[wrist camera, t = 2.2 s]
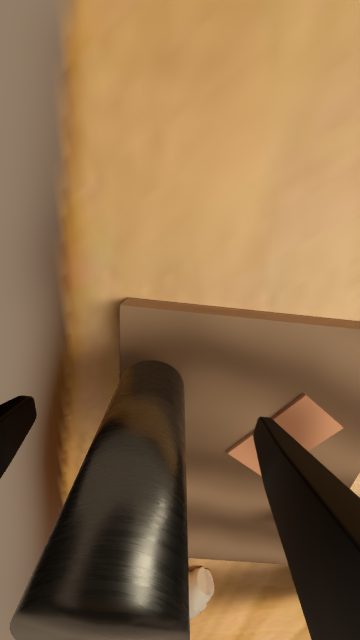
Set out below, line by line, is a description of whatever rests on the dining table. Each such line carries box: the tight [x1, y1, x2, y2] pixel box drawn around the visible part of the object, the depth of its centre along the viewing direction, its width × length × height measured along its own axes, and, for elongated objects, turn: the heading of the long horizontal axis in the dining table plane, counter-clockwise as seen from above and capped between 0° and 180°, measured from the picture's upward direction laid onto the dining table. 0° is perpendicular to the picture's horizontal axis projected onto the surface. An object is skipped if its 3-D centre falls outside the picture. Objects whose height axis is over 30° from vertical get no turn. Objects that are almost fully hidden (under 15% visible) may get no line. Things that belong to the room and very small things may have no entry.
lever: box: [10, 360, 190, 640], centre depth 10 cm, size 19×4×8 cm, turn 174°
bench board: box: [120, 298, 360, 564], centre depth 13 cm, size 22×16×4 cm
